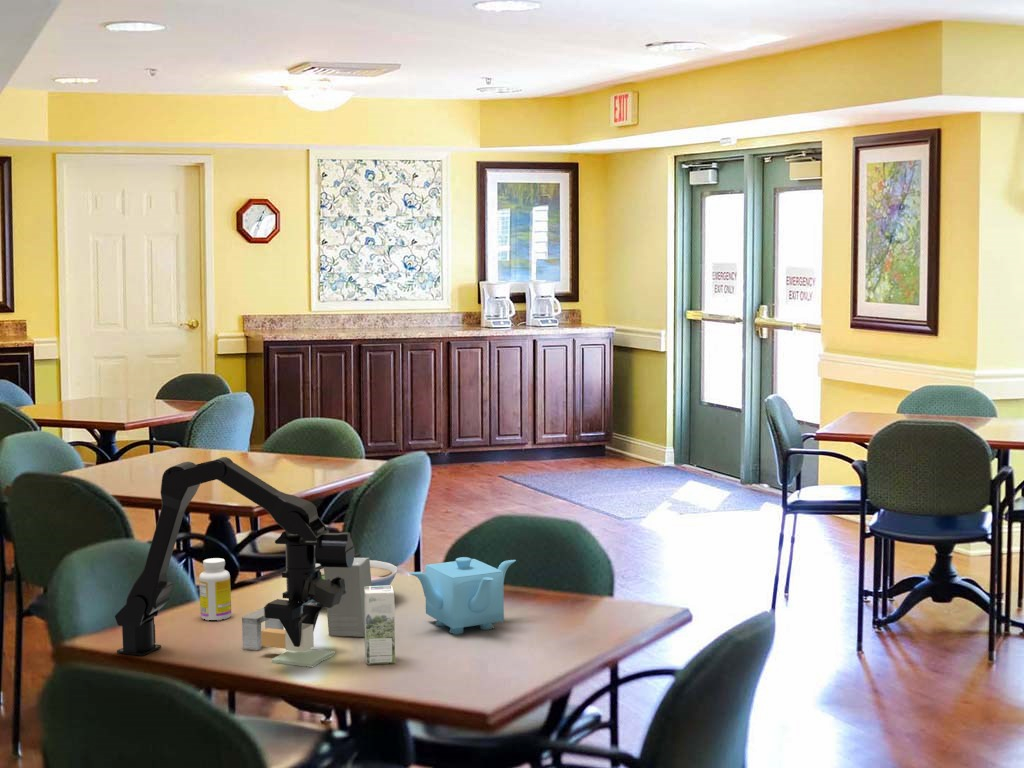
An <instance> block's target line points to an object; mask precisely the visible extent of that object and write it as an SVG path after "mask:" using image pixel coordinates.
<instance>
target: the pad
mask: <svg viewBox="0 0 1024 768" xmlns="http://www.w3.org/2000/svg"><path fill="white" fill-rule="evenodd" d="M330 656H331V657H332V656H335V651H333V650H325V649H324V650H323V649H315V648H310V649H308V650H306V651H305V652H298V651H289V650H286V651H284V652H283V653H280V654H279V655H277V656H275V657H273V658H272V659H271V663H274V664H275V663H276V664H283V665H288V666H289V665H291V666H299V667H306V666H307V667H308V668H312V666H313V667H315V666H316V665H318V664H320V663H321V661H322V662H324V661H325V660H327V659H329V658H330ZM323 660H324V661H323ZM317 663H318V664H317Z"/></svg>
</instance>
